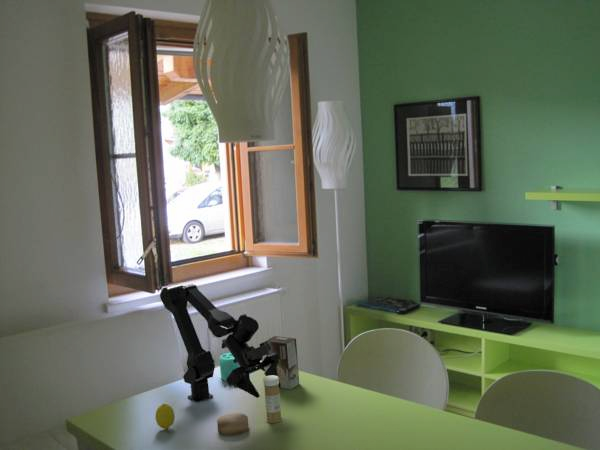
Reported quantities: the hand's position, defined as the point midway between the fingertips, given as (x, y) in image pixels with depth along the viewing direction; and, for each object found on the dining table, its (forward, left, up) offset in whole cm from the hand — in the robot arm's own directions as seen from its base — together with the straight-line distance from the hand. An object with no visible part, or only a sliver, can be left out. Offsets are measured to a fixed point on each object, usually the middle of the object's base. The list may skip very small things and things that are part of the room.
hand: (269, 392), depth 201 cm
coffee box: (-20, +20, -9) cm, 30 cm away
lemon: (-18, -26, -9) cm, 33 cm away
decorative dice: (-40, +12, -9) cm, 43 cm away
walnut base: (-3, -12, -9) cm, 15 cm away
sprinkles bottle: (+1, 0, -9) cm, 9 cm away
